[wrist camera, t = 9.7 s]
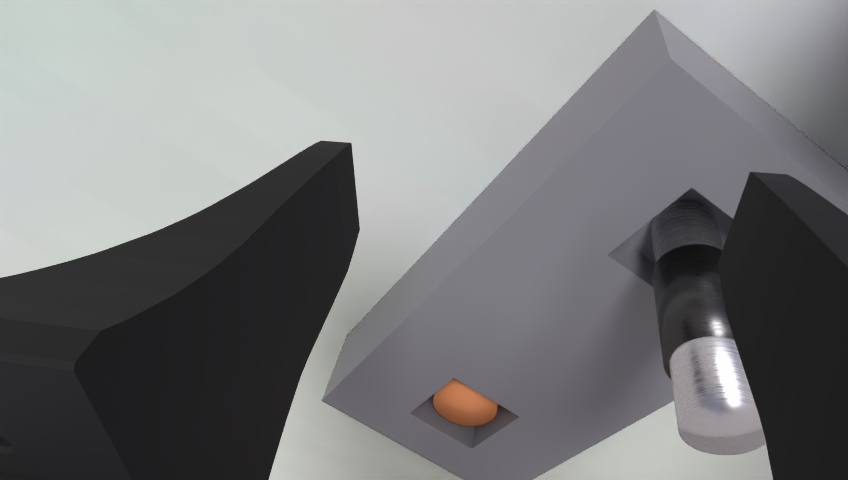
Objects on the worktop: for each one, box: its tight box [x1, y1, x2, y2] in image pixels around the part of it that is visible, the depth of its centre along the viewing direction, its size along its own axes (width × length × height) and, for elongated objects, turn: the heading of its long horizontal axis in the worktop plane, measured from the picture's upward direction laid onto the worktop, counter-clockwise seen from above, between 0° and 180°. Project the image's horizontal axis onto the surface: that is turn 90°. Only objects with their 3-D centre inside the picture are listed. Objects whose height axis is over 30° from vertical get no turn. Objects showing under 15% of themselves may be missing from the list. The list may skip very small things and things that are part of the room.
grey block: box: [322, 10, 848, 480], centre depth 24 cm, size 20×10×4 cm, turn 146°
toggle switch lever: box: [651, 199, 766, 455], centre depth 17 cm, size 2×2×8 cm
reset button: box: [433, 378, 498, 426], centre depth 28 cm, size 3×3×3 cm
